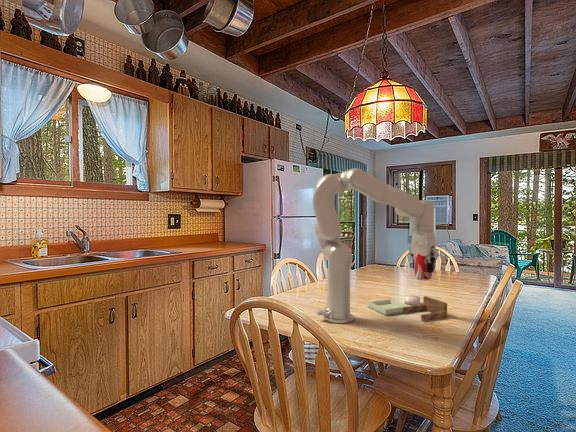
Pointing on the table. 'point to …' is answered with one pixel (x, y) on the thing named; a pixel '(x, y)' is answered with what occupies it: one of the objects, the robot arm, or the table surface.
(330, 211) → the robot arm
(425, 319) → the cradle
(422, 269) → the soda can
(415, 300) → the cream rounded knob
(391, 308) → the tray
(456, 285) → the table surface
